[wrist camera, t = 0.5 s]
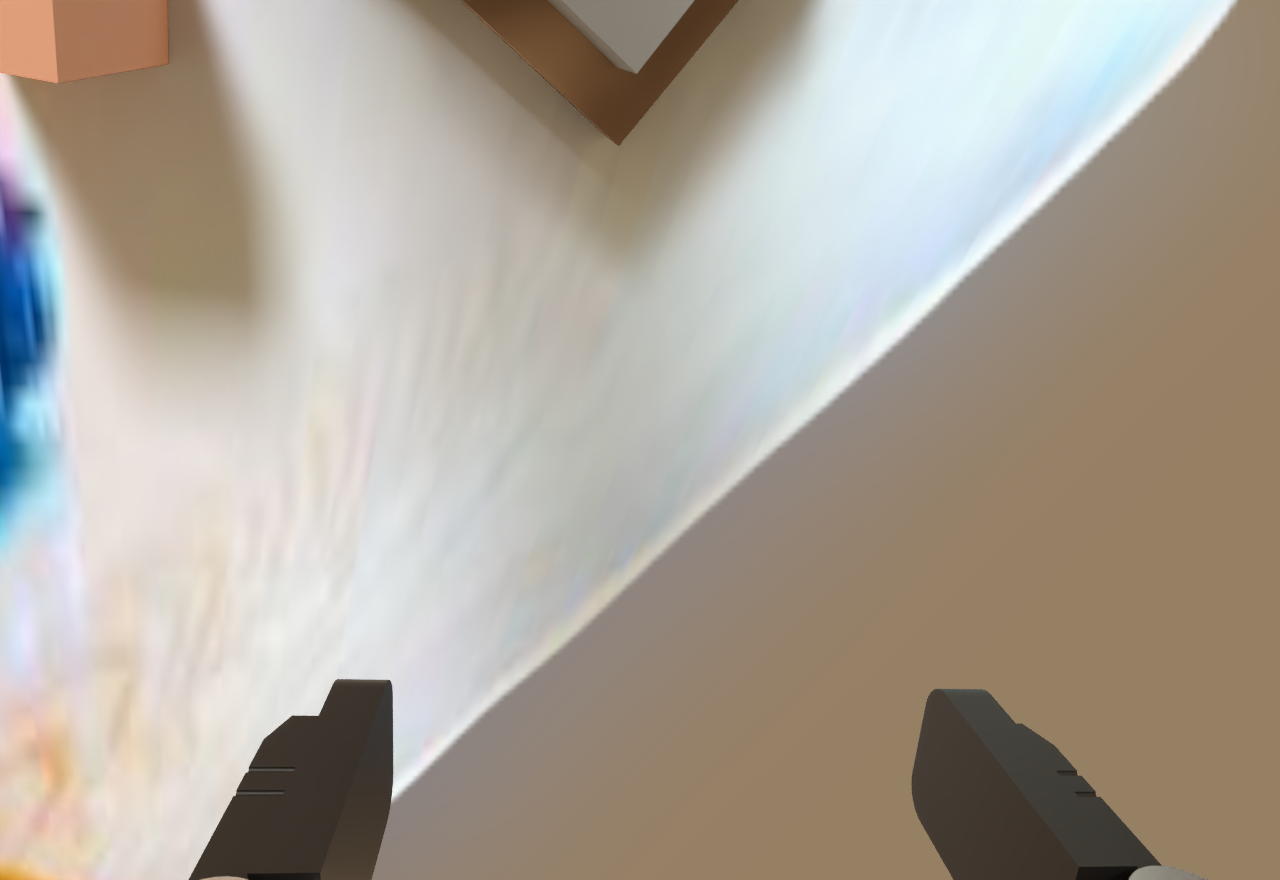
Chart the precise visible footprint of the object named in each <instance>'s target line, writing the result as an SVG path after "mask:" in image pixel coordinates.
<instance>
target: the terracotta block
mask: <svg viewBox="0 0 1280 880" xmlns="http://www.w3.org/2000/svg"><path fill="white" fill-rule="evenodd" d="M165 64H169V50H168V0H0V73H5V74H10V75H15V76H21V77H26V78H31V79H37V80H42V81H48V82H53V83H63V82H69V81H75V80H80V79H86V78H92V77H97V76H103V75H108V74H114V73H120V72H125V71H131V70H137V69H142V68H148V67H154V66H159V65H165Z"/></svg>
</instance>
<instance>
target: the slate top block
mask: <svg viewBox="0 0 1280 880" xmlns="http://www.w3.org/2000/svg"><path fill="white" fill-rule="evenodd" d="M548 1H549V2H550V3H551V4H552V5H553V6H554V7H555V8H556V9H557V10H558V11H559V12H560V13H561V14H562V15H563V16H564V17H565V18H566V19H567V20H568V21H569V22H570V23H571V24H572V25H573V26H575V27H576V28H577V29H578V30H579V31H580V32H581V33H582V34H583V35H584V36H585V37H586V38H587V39H588V40H589V41H590V42H591V43H592V44H593V45H594V46H595V47H596V48H597V49H598V50H599V51H601V52H602V53H603V54H604V55H605V56H606V57H607V58H608V59H609V60H610V61H611V62H612V63H613V64H614V65H615V66H616V67H617V68H620V69H623V70H626V71H630V72H633V73H636V74H637V73H638V72H639V70H640V69H641V68H642V66H643V65H644V64H645V63H646V61H647V60H648V59H649V58H650V56H651V55H652V54H653V52H654V51H655V50H656V49H657V47H658V46H659V45H660V44H661V42H662V41H663V40H664V38H665V37H666V36H667V35H668V33H669V32H670V31H671V30H672V28H673V27H674V26H675V25H676V23H677V22H678V21H679V19H680V18H681V17H682V16H683V14H684V13H685V12H686V11H687V9H688V8H689V7H690V5H691V4H692V3H693V2H694V0H548Z"/></svg>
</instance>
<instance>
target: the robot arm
mask: <svg viewBox="0 0 1280 880" xmlns="http://www.w3.org/2000/svg"><path fill="white" fill-rule="evenodd" d="M392 786H393V693H392V684H391V681H390V680H352V679H337V680H336V681H335V682H334V684H333V686H332V688H331V690H330V692H329V694H328V697H327V699H326V701H325V703H324V705H323V708H322V710H321V712H320V714H319V716H291V717H290V718H289V719H288V720H287V721H285V722H284V723H283V724H282V725H281V726H279V727H278V728H277V729H276V730H274V731H273V732H272V733H271V734H270V735H268V736H267V737H266V738H265V739H264V740H263V742H262V744H261V746H260V747H259V749H258V751H257V753H256V755H255V757H254V759H253V761H252V762H251V764H250V766H249V771H248V773H246V774H245V776H244V777H243V779H242V781H241V783H240V785H239V787H238V789H237V793H236V796H233V798H232V800H231V802H230V804H229V805H228V807H227V809H226V811H225V813H224V815H223V817H222V818H221V820H220V822H219V824H218V826H217V828H216V830H215V832H214V833H213V835H212V837H211V839H210V841H209V843H208V845H207V847H206V848H205V850H204V852H203V854H202V856H201V858H200V860H199V861H198V863H197V865H196V867H195V869H194V871H193V873H192V875H191V876H190V878H189V880H371V879H372V875H373V872H374V868H375V865H376V861H377V857H378V853H379V850H380V846H381V842H382V839H383V835H384V831H385V828H386V824H387V820H388V815H389V810H390V804H391V796H392ZM912 795H913V801H914V806H915V810H916V813H917V815H918V818H919V820H920V822H921V824H922V825H923V827H924V829H925V830H926V832H927V834H928V836H929V837H930V839H931V841H932V843H933V845H934V846H935V848H936V850H937V851H938V853H939V855H940V857H941V858H942V860H943V862H944V864H945V865H946V867H947V869H948V871H949V872H950V874H951V876H952V878H953V879H954V880H1207V879H1205V878H1202V877H1200V876H1198V875H1195V874H1193V873H1190V872H1187V871H1184V870H1180V869H1177V868H1173V867H1166V866H1162V865H1161V864H1160V863H1159V862H1158V861H1157V860H1156V859H1155V858H1154V856H1153V855H1152V854H1151V853H1150V852H1149V851H1148V850H1147V849H1146V847H1145V846H1144V845H1143V844H1142V843H1141V842H1140V841H1139V840H1138V839H1137V837H1136V836H1135V835H1134V834H1133V833H1132V832H1131V831H1130V830H1129V828H1128V827H1127V826H1126V825H1125V824H1124V823H1123V822H1122V821H1121V819H1120V818H1119V817H1118V816H1117V815H1116V814H1115V813H1114V812H1113V811H1112V810H1111V808H1110V807H1109V806H1108V805H1107V804H1106V803H1105V802H1104V801H1103V799H1102V798H1101V797H1096V794H1095V790H1094V789H1093V788H1092V787H1091V786H1090V785H1089V784H1088V783H1087V782H1086V780H1085V779H1084V778H1083V777H1082V776H1078V775H1077V770H1076V769H1075V768H1074V767H1073V766H1072V765H1071V764H1070V763H1069V761H1068V760H1067V759H1066V758H1065V757H1064V756H1063V755H1062V754H1061V752H1060V751H1059V750H1058V749H1057V748H1056V747H1055V746H1054V745H1053V744H1051V743H1050V742H1048V741H1047V740H1045V739H1044V738H1042V737H1041V736H1039V735H1038V734H1036V733H1035V732H1034V731H1032V730H1031V729H1029V728H1028V727H1026V726H1025V725H1023V724H1016V723H1015V722H1014V721H1013V720H1012V719H1011V718H1010V716H1009V715H1008V714H1007V713H1006V712H1005V711H1004V709H1003V708H1002V707H1001V706H1000V705H999V704H998V702H997V701H996V700H995V699H994V698H993V697H992V695H991V694H989V693H988V692H987V691H985V690H979V689H978V690H977V689H935V690H933V691H932V692H931V693H930V695H929V696H928V699H927V702H926V707H925V713H924V718H923V722H922V727H921V732H920V737H919V742H918V748H917V753H916V758H915V763H914V768H913V774H912Z"/></svg>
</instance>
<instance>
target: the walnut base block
mask: <svg viewBox="0 0 1280 880" xmlns="http://www.w3.org/2000/svg"><path fill="white" fill-rule="evenodd" d="M461 1H462V2H463V3H464V4H465V5H466V6H467V7H468V8H469V9H470V10H471V11H472V12H473V13H475V14H476V15H477V16H478V17H479V18H480V19H481V20H482V21H483V22H484V23H485V24H486V25H487V26H488V27H489V28H491V29H492V30H493V31H494V32H495V33H496V34H497V35H498V36H499V37H500V38H501V39H502V40H503V41H504V42H506V43H507V44H508V45H509V46H510V47H511V48H512V49H513V50H514V51H515V52H516V53H517V54H518V55H519V56H521V57H522V58H523V59H524V60H525V61H526V62H527V63H528V64H529V65H530V66H531V67H532V68H533V69H534V70H535V71H537V72H538V73H539V74H540V75H541V76H542V77H543V78H544V79H545V80H546V81H547V82H548V83H549V84H550V85H552V86H553V87H554V88H555V89H556V90H557V91H558V92H559V93H560V94H561V95H562V96H563V97H564V98H565V99H567V100H568V101H569V102H570V103H571V104H572V105H573V106H574V107H575V108H576V109H577V110H578V111H579V112H580V113H581V114H583V115H584V116H585V117H586V118H587V119H588V120H589V121H590V122H591V123H592V124H593V125H594V126H595V127H596V128H598V129H599V130H600V131H601V132H602V133H603V134H604V135H605V136H606V137H607V138H609V139H610V140H611V141H613V142H614V143H615V144H617V145H618V146H619V145H620V144H621V142H622V141H623V140H624V139H625V137H626V136H627V135H628V134H629V133H630V131H631V130H632V129H633V128H634V127H635V125H636V124H637V123H638V122H639V120H640V119H641V118H642V117H643V116H644V114H645V113H646V112H647V111H648V110H649V108H650V107H651V106H652V105H653V103H654V102H655V101H656V100H657V99H658V97H659V96H660V95H661V94H662V93H663V91H664V90H665V89H666V88H667V86H668V85H669V84H670V83H671V82H672V80H673V79H674V78H675V77H676V76H677V74H678V73H679V72H680V71H681V69H682V68H683V67H684V66H685V65H686V63H687V62H688V61H689V60H690V58H691V57H692V56H693V55H694V54H695V52H696V51H697V50H698V49H699V48H700V46H701V45H702V44H703V43H704V41H705V40H706V39H707V38H708V37H709V35H710V34H711V33H712V32H713V31H714V29H715V28H716V27H717V26H718V24H719V23H720V22H721V21H722V20H723V18H724V17H725V16H726V15H727V14H728V12H729V11H730V10H731V9H732V7H733V6H734V5H735V4H736V3H737V1H738V0H694V2H693V3H692V4H691V5H690V7H689V8H688V9H687V11H686V12H685V13H684V14H683V16H682V17H681V18H680V19H679V21H678V22H677V23H676V25H675V26H674V27H673V28H672V30H671V31H670V32H669V33H668V35H667V36H666V37H665V38H664V40H663V41H662V42H661V44H660V45H659V46H658V47H657V49H656V50H655V51H654V52H653V54H652V55H651V56H650V58H649V59H648V60H647V61H646V63H645V64H644V65H643V66H642V68H641V69H640V70H639V72H638V73H637V74H636V73H633V72H630V71H626V70H623V69H620V68H617V67H616V66H615V65H614V64H613V63H612V62H611V61H610V60H609V59H608V58H607V57H606V56H605V55H604V54H603V53H602V52H601V51H599V50H598V49H597V48H596V47H595V46H594V45H593V44H592V43H591V42H590V41H589V40H588V39H587V38H586V37H585V36H584V35H583V34H582V33H581V32H580V31H579V30H578V29H577V28H576V27H575V26H573V25H572V24H571V23H570V22H569V21H568V20H567V19H566V18H565V17H564V16H563V15H562V14H561V13H560V12H559V11H558V10H557V9H556V8H555V7H554V6H553V5H552V4H551V3H550V2H549V1H548V0H461Z"/></svg>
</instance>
